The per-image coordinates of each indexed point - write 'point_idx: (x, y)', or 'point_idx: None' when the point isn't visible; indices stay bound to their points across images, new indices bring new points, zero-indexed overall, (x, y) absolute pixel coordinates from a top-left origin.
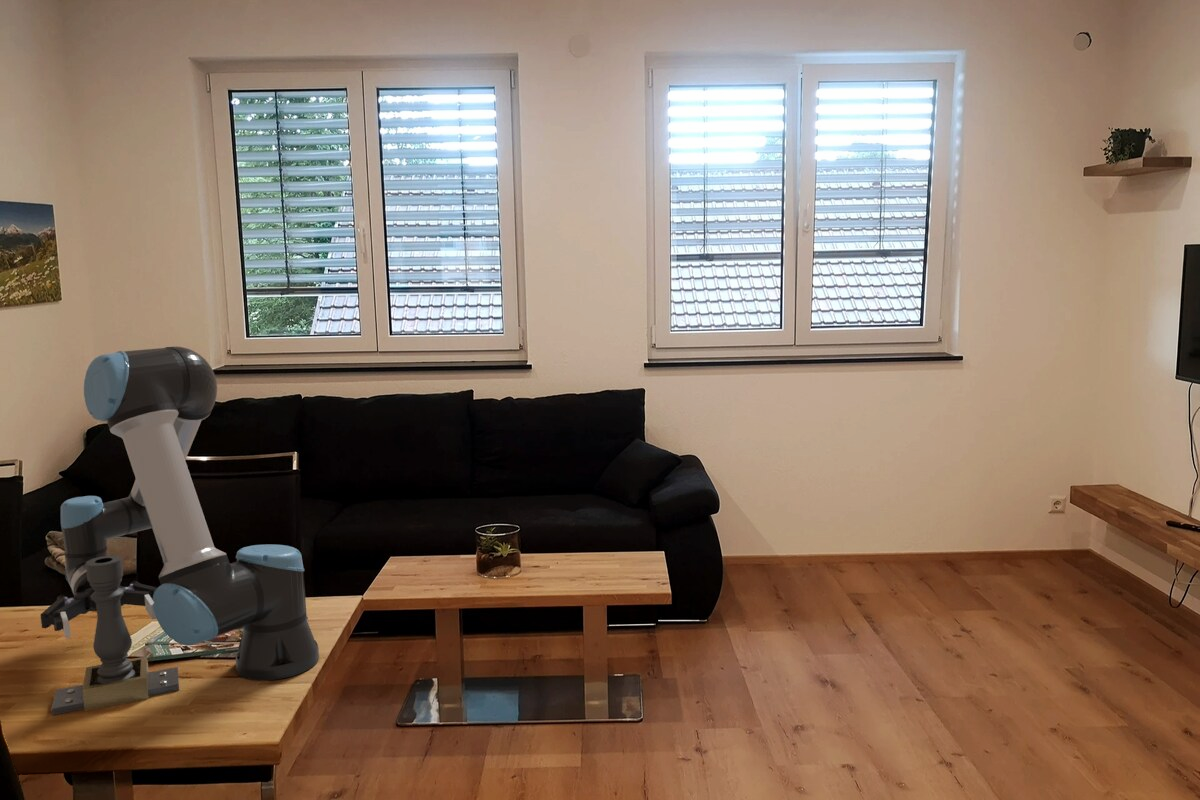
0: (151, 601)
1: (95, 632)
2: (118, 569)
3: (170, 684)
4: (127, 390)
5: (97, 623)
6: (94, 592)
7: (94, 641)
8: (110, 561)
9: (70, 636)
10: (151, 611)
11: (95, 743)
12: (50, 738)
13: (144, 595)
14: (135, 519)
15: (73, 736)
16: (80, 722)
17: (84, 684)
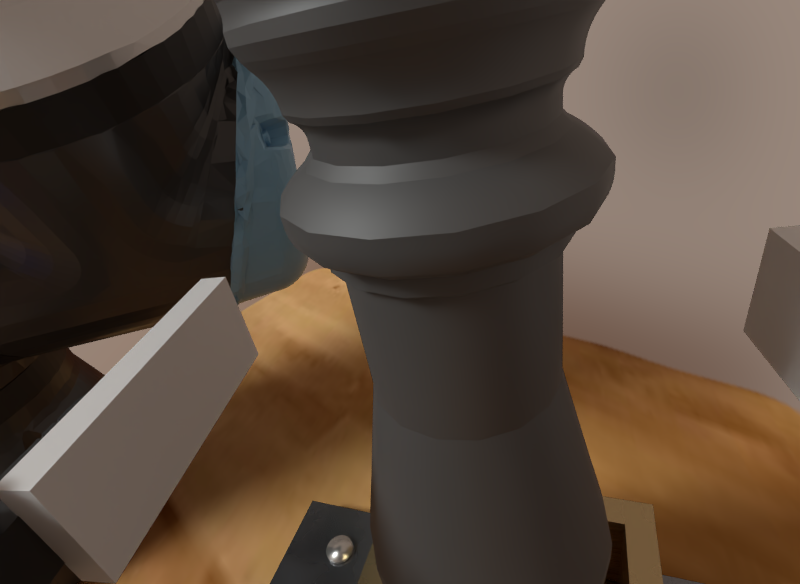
0: (168, 321)
1: (589, 471)
2: None
3: (331, 514)
4: None
5: (565, 378)
6: (566, 114)
7: (599, 491)
8: None
9: (747, 321)
10: (240, 312)
11: (582, 356)
12: (724, 432)
13: (41, 480)
14: None
15: (648, 410)
16: (643, 482)
17: (653, 560)
